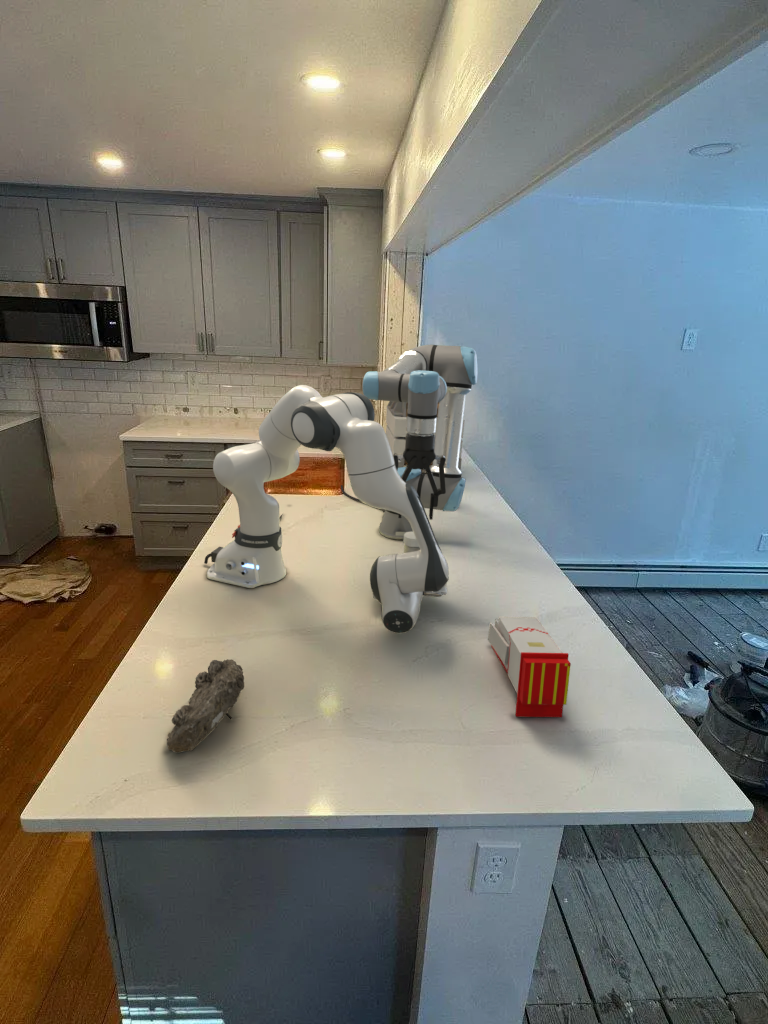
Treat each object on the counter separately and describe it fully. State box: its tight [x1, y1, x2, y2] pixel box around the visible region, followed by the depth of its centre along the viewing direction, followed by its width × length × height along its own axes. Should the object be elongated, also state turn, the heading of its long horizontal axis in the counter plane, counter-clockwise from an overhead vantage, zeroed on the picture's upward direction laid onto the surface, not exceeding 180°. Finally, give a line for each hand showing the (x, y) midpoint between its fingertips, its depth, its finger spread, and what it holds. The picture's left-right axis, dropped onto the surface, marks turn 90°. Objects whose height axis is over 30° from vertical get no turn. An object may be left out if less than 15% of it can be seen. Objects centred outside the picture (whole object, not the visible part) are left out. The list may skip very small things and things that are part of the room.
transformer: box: [385, 401, 465, 472], centre depth 268 cm, size 34×33×41 cm
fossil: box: [166, 658, 245, 754], centre depth 106 cm, size 22×10×15 cm
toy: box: [487, 616, 572, 718], centre depth 123 cm, size 12×13×30 cm
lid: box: [402, 532, 419, 547], centre depth 155 cm, size 6×6×2 cm
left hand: (412, 568), depth 159 cm, fingers closed on jar, 5 cm apart
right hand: (415, 517), depth 152 cm, fingers open, 8 cm apart
